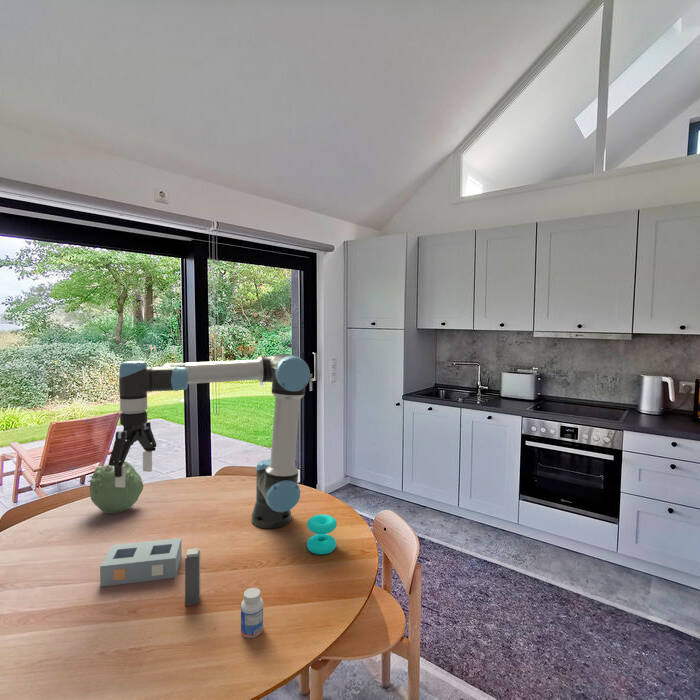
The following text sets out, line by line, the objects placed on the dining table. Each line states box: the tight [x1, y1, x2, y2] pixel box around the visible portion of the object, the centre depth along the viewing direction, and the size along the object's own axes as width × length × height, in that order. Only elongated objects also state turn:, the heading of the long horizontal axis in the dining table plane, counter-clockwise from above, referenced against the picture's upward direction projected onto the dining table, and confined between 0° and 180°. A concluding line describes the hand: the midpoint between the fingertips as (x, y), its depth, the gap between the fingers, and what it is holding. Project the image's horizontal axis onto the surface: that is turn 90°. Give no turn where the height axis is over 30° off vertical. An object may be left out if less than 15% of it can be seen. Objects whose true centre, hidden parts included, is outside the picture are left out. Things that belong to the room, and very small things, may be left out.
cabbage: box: [87, 460, 144, 515], centre depth 166 cm, size 16×19×20 cm
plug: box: [184, 547, 201, 607], centre depth 114 cm, size 4×4×14 cm
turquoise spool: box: [306, 513, 338, 555], centre depth 142 cm, size 10×10×10 cm
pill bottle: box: [240, 587, 264, 639], centre depth 103 cm, size 6×5×10 cm
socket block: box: [99, 537, 183, 588], centre depth 127 cm, size 20×12×6 cm, turn 104°
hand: (134, 478), depth 131 cm, fingers open, 13 cm apart
